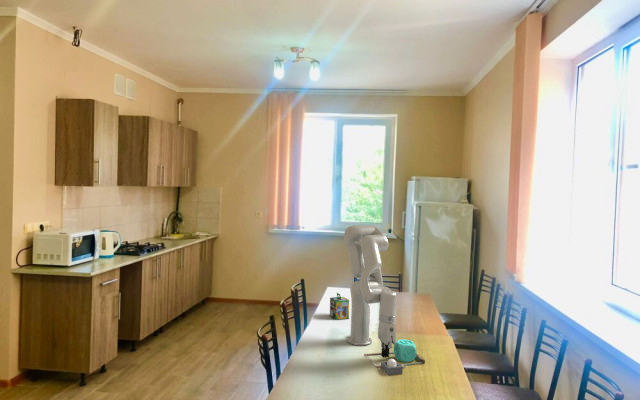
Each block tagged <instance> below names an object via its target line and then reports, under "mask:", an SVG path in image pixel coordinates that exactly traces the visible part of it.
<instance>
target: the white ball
mask: <svg viewBox="0 0 640 400" xmlns="http://www.w3.org/2000/svg"><path fill="white" fill-rule="evenodd" d="M395 360H396V359H394V358H390V359H388V360H387V361H388V362H387V366H388V367H395V366H397V364H396V361H395Z"/></svg>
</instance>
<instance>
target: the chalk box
mask: <svg viewBox="0 0 640 400" xmlns="http://www.w3.org/2000/svg"><path fill="white" fill-rule="evenodd" d="M329 316H330V317H331V319H333V320H335V321H337V320H347V319H348V320H349V319H350V299H348V298H347V297H344V296H342V295H341V294H340V293H338V292H336V296H333V297H330V298H329Z"/></svg>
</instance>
